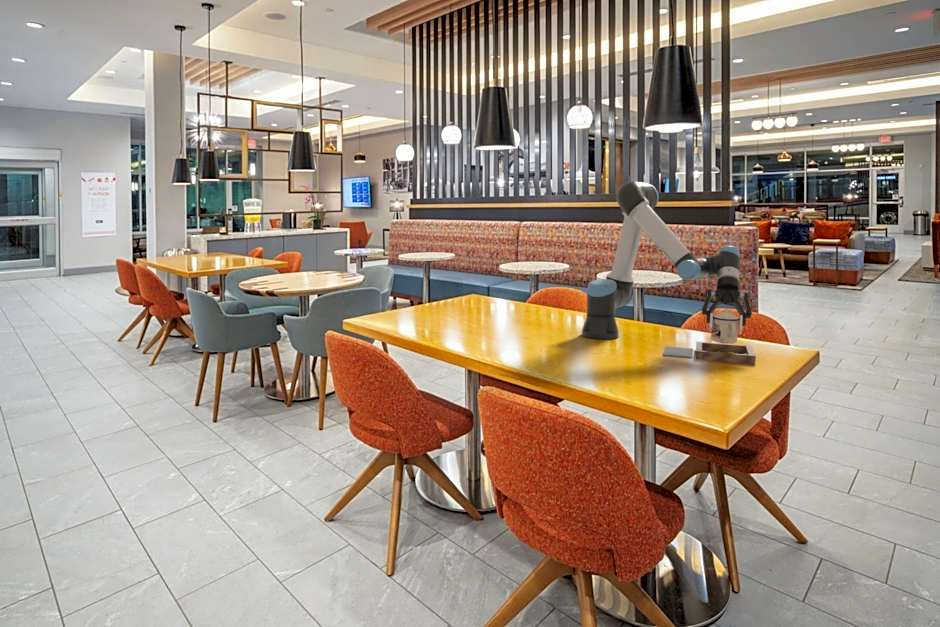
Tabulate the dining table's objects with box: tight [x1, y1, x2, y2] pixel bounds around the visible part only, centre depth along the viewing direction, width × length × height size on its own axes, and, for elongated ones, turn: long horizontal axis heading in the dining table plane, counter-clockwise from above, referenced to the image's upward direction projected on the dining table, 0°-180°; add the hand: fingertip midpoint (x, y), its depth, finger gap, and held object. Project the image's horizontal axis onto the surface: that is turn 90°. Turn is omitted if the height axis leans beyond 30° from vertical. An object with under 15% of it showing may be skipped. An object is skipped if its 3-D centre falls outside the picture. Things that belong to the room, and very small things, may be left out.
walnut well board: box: [694, 341, 757, 366], centre depth 210 cm, size 19×18×3 cm
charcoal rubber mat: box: [662, 346, 694, 359], centre depth 216 cm, size 10×15×1 cm, turn 159°
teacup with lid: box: [710, 308, 740, 344], centre depth 208 cm, size 12×9×12 cm
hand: (725, 331), depth 206 cm, fingers closed on teacup with lid, 9 cm apart
